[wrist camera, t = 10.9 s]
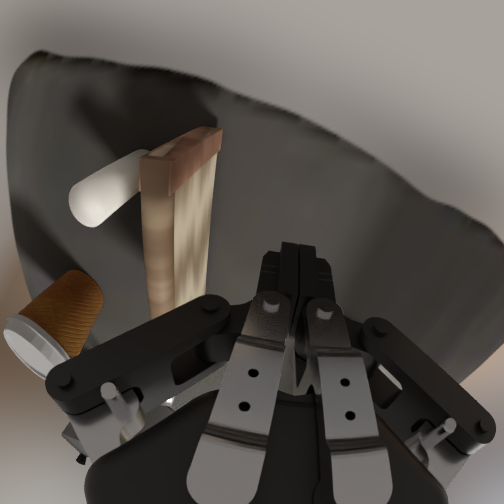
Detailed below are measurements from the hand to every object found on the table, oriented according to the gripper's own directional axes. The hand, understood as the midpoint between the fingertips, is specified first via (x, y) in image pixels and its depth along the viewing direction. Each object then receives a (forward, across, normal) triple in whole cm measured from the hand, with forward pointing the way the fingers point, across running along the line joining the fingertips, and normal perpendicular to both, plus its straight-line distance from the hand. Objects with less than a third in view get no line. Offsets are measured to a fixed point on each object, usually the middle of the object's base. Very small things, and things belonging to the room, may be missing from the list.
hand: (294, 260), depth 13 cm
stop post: (+10, +12, 0) cm, 16 cm away
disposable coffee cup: (+10, +23, +16) cm, 30 cm away
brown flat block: (+9, +7, +4) cm, 12 cm away
